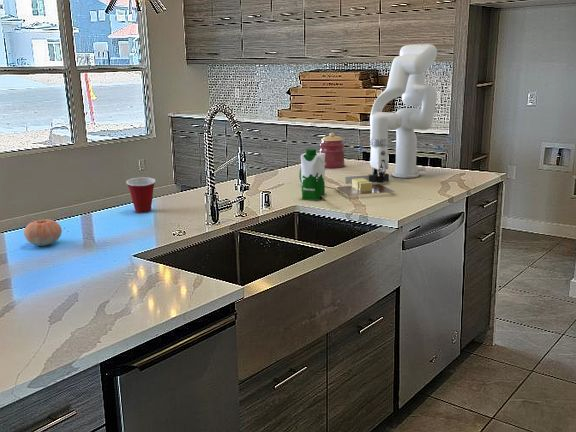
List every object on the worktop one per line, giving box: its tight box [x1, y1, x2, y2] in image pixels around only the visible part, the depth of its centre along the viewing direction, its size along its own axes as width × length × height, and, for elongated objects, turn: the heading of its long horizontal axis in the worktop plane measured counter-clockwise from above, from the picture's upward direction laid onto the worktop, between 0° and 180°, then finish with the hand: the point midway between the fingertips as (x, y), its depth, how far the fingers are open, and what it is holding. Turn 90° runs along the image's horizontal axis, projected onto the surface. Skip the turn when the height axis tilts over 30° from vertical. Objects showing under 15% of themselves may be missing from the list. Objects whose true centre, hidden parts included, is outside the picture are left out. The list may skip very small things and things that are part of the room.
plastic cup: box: [125, 176, 157, 214], centre depth 221 cm, size 11×11×12 cm
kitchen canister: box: [319, 131, 346, 169], centre depth 306 cm, size 13×13×18 cm
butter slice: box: [359, 182, 373, 192], centre depth 241 cm, size 5×2×4 cm, turn 105°
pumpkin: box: [23, 218, 63, 247], centre depth 183 cm, size 11×11×8 cm
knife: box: [344, 172, 390, 185], centre depth 259 cm, size 20×2×4 cm, turn 105°
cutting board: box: [335, 183, 396, 196], centre depth 245 cm, size 20×16×2 cm
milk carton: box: [300, 148, 326, 201], centre depth 235 cm, size 9×9×20 cm
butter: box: [351, 178, 369, 190], centre depth 247 cm, size 5×7×4 cm
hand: (378, 183), depth 261 cm, fingers open, 3 cm apart
